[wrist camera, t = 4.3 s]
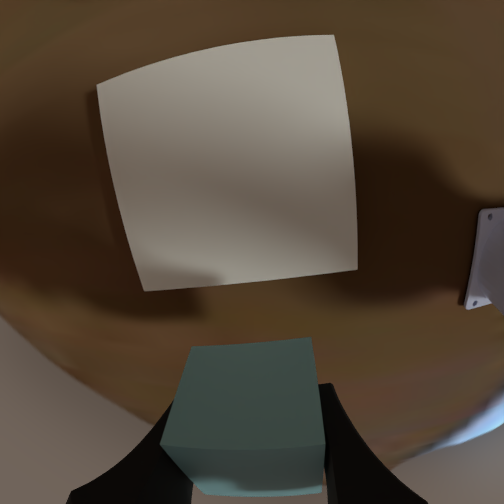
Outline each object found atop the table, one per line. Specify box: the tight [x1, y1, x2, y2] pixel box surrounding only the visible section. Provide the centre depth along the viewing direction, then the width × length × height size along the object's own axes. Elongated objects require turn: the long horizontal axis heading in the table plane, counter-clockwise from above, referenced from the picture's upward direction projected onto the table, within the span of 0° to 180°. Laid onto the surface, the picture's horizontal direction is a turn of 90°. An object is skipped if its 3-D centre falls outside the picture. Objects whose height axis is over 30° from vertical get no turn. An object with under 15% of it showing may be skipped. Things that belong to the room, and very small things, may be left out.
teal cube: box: [160, 337, 325, 497], centre depth 10 cm, size 5×5×5 cm
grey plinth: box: [97, 35, 358, 291], centre depth 15 cm, size 12×12×3 cm
